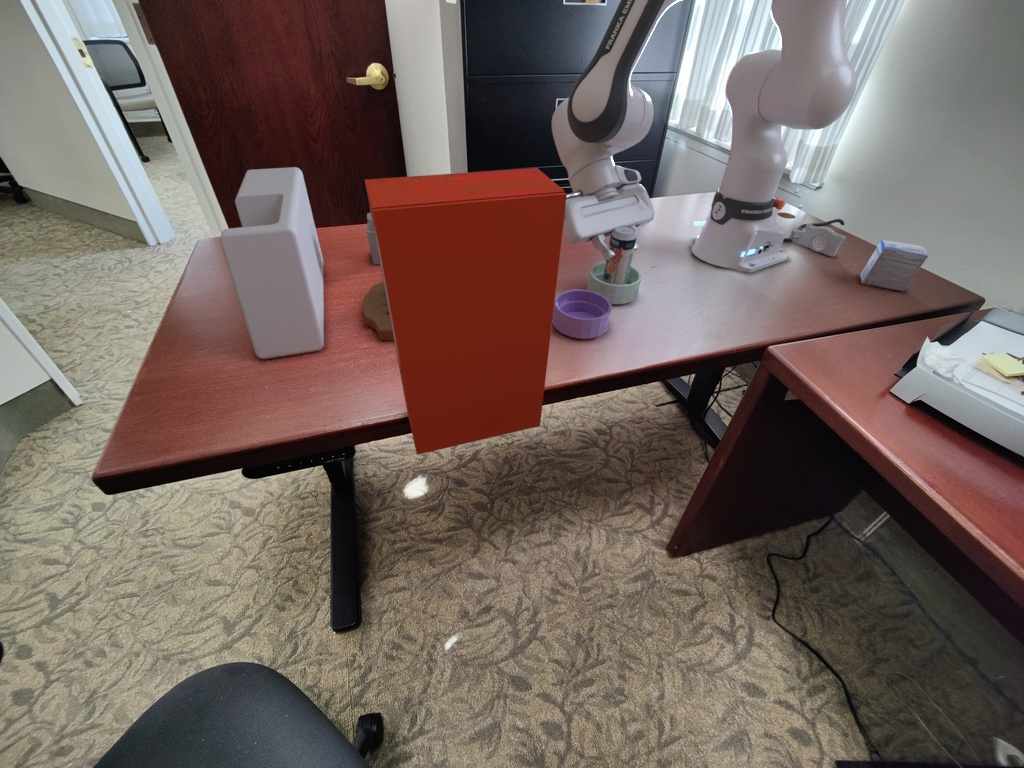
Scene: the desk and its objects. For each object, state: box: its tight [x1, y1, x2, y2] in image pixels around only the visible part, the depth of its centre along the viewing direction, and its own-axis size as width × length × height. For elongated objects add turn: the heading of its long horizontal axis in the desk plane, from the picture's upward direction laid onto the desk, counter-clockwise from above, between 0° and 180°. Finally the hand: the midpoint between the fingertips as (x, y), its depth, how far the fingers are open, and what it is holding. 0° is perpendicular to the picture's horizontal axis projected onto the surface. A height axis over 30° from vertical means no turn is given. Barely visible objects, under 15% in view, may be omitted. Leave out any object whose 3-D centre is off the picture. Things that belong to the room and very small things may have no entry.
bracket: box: [219, 166, 325, 360], centre depth 79 cm, size 30×10×30 cm, turn 18°
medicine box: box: [859, 239, 929, 292], centre depth 94 cm, size 8×4×9 cm, turn 65°
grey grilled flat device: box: [788, 222, 847, 257], centre depth 108 cm, size 12×2×6 cm, turn 34°
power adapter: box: [366, 205, 380, 265], centre depth 94 cm, size 3×5×12 cm, turn 15°
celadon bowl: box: [586, 261, 642, 305], centre depth 88 cm, size 10×10×4 cm
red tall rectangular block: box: [364, 167, 568, 456], centre depth 51 cm, size 8×17×32 cm, turn 109°
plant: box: [362, 281, 394, 342], centre depth 79 cm, size 20×20×11 cm
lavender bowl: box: [552, 288, 613, 340], centre depth 79 cm, size 10×10×4 cm
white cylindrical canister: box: [603, 225, 638, 285], centre depth 85 cm, size 5×5×12 cm
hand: (622, 255), depth 84 cm, fingers closed on white cylindrical canister, 5 cm apart
